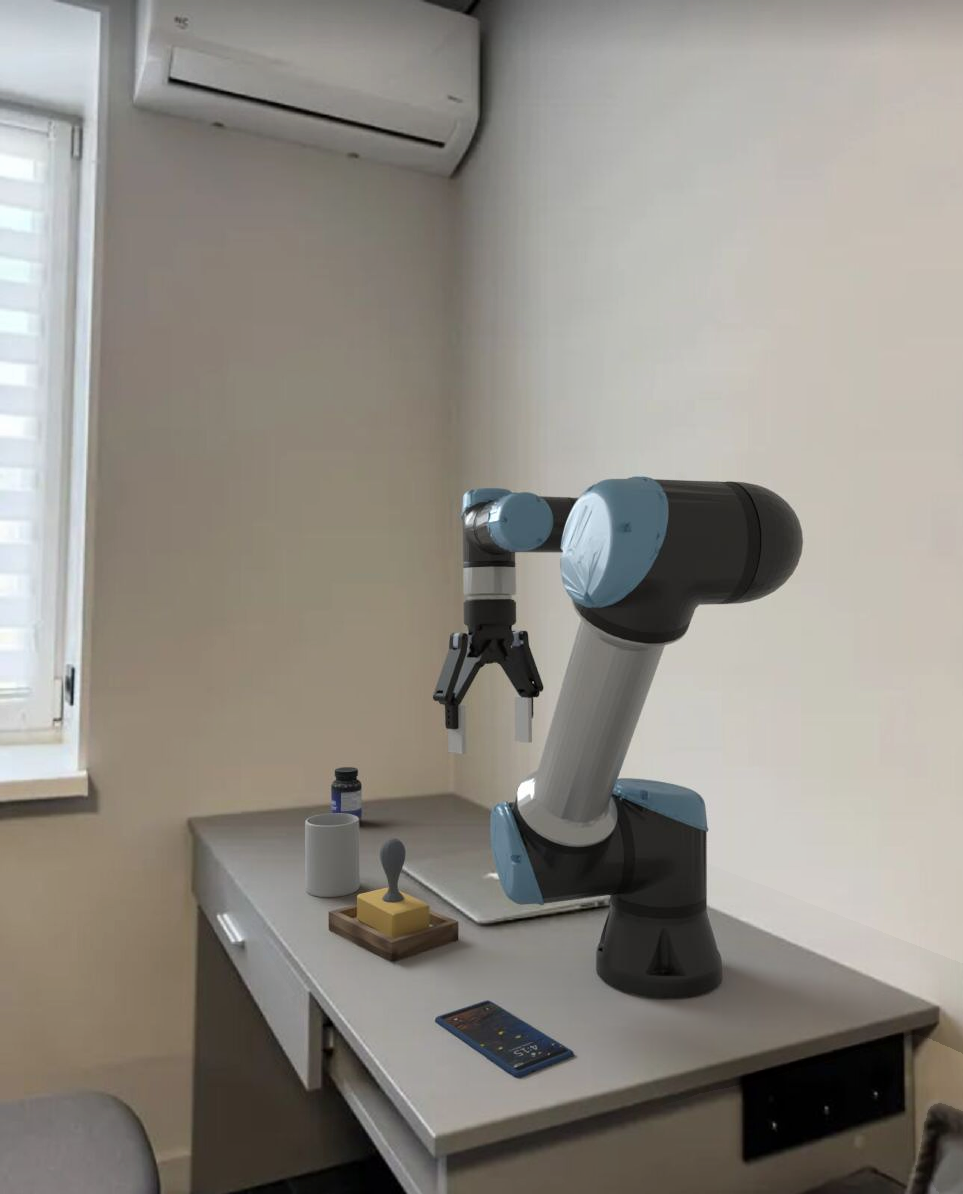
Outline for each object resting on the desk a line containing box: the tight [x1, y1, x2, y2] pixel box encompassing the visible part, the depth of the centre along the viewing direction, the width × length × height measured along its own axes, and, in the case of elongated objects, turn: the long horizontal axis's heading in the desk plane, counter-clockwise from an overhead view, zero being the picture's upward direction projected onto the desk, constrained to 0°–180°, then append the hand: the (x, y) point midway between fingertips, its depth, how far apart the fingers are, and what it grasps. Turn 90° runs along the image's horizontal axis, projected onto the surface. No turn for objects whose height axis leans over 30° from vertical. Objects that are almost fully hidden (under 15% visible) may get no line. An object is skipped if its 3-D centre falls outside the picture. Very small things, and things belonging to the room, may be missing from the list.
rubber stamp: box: [356, 837, 430, 938], centre depth 126 cm, size 10×6×12 cm, turn 38°
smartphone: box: [434, 999, 575, 1079], centre depth 97 cm, size 8×1×15 cm
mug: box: [304, 813, 361, 898], centre depth 147 cm, size 12×8×11 cm
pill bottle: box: [330, 766, 363, 825], centre depth 186 cm, size 6×6×11 cm
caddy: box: [328, 903, 460, 963], centre depth 126 cm, size 15×11×2 cm
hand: (491, 747), depth 131 cm, fingers open, 13 cm apart
